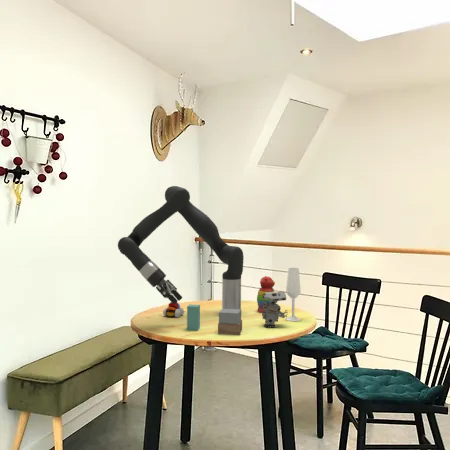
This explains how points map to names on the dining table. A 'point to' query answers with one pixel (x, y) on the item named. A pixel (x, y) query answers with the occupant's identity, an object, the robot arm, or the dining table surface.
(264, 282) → the stacking bear
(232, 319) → the gray top block
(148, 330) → the dining table surface
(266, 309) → the figurine
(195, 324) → the green block
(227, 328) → the walnut base block
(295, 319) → the champagne flute
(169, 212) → the robot arm
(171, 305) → the rainbow petal toy
